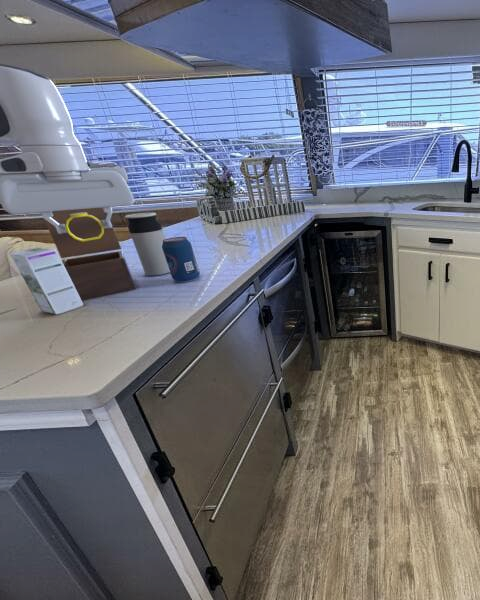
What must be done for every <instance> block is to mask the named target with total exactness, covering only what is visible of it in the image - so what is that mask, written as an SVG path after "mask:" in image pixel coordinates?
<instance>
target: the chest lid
mask: <svg viewBox="0 0 480 600" xmlns="http://www.w3.org/2000/svg"><path fill="white" fill-rule="evenodd" d="M81 212H87V214H88V215H92V216H94V217H95V218H97V219H98V220H100V221H101V220H106V216H107V213H108V212H104V209H103V207H100V208H88V209H75V210H62V211H52V213H53V215H54V216H53V217H51V218H53V219H54V220H55V221H56V222H58V223H59V224H65V225H66V221H67V219H69V218H70V217H71V216H70V214H73V213H81ZM43 221H44V222H45V225H46V227H47V229H48V231H49V233H50V236H51V238H52V240H53V242H54V245H55V247H56V250H57V252H58V255H59V257H60V259H67V258H74V257H81V256H87V255H94V254H100V253H107V252H113V251H120V250H122V247H121V245H120V242H119V238H118V237H117V234H116V231H115V229H114V225H113V224H112V221H111V220H110V223H111V225H112V228H107V229H104V233H103V235H102V237H101V238H100V239H95V240H89V241H84V242H82V241H79V240H76V239H74V238H73V237H72V236H70V235H69V233H62V234H58V232H57V230H56V227H55V226H54V225H52V224H51V223H50V222H48V221H47V220H45V219H44V218H43ZM101 223H102V222H101ZM102 225H103V224H102ZM68 228H69V230H70V232H71V233H72V234H73V235H75V236H76V237H78V238H81V239H88V238H94V237H98V236H99V235H100V233H101V226H100V224H99V222H97V221H96V220H95V219H93V218H91V217H87V216H84V217H75V218H73V219H71V220H70V221H69V225H68Z"/></svg>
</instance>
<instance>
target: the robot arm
mask: <svg viewBox="0 0 480 600" xmlns="http://www.w3.org/2000/svg"><path fill="white" fill-rule="evenodd" d="M73 127H74V125H73V121H72V118H71V116H70V113H69V111H68V108H67V105H66V103H65V102H64V100H63V98H62V95H61V93H60V91H59V90H58V88H57V87H56V85H55V84H54V82H53V81H52V80H51V79H50V78H49V77H48V76H46V75H44V74H43V73H41V72H38V71H35V70H32V69H29V68H28V69H27V68H23V67H20V66H17V65H16V66H15V65H11V64H6V63H0V146H4V147H5V146H6V147H19V148H20V151H21V153H20V154H19V153H18V154H13V155H9V156H7V157H4V158H0V205H1V206H2V209H3V210H4V211H5V212H7V213H9V214H11V215H23V214H35V213H40V214H41V216H42V218H43V220H44V219H45V220H47V221H48V222H50V223H51V224H52V225H54V226H55V227H56V230H57V232H58V234H62V233H68V232H67V230H66V227H65V226H66V225H65V224H59V223H58V222H56V221H55V220H54V219H53V218H51V217H53V216H54V215H53V213H52V211H62V210H75V209H88V208H100V207H103V209H104V212H107V216H106V220H101V222H102V224H103V228H104V229H107V228H112V226H113V224H112V225H111V223H112V222H111V223H110V221H111V218H112V215H113V209H112V207H125V206H132V205H134V203H135V198H134V195H133V193H132V191H131V189H130V187H129V185H128V182H129V175H128V172H127V169H126V168H125V167H124V166H123V165H121V164H119V163H116V162H115V161H87V158H86V156H85V153H84V150H83V147H82V144H81V143H80V141H79V140H78V138H77V137H76V135H75V133H74V129H73ZM45 220H44V221H45Z"/></svg>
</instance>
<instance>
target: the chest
mask: <svg viewBox="0 0 480 600" xmlns="http://www.w3.org/2000/svg"><path fill="white" fill-rule="evenodd" d="M61 260H62V263H63V264H64V266H65V268H66V270H67V272H68V274H69V276H70V278H71V280H72V282H73V284H74V286H75V288H76V290H77V292H78V294H79V296H80V298H81V301H85V300H90V299H95V298H100V297H103V296H104V297H105V296H110V295H114V294H119V293H124V292H127V291H132V290H136V284H135V280H134V277H133V275H132V272H131V270H130V267H129V265H128V262H127V259H126V257H125V255H124V252H123V250H116V251H109V252H103V253H96V254H90V255H83V256H77V257H70V258H64V259H61Z"/></svg>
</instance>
